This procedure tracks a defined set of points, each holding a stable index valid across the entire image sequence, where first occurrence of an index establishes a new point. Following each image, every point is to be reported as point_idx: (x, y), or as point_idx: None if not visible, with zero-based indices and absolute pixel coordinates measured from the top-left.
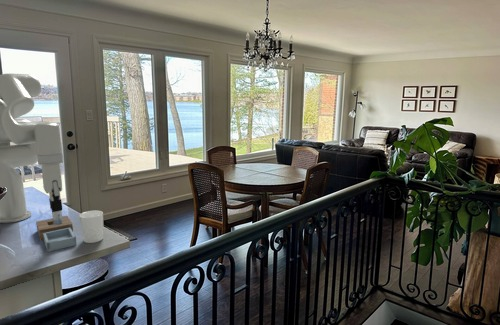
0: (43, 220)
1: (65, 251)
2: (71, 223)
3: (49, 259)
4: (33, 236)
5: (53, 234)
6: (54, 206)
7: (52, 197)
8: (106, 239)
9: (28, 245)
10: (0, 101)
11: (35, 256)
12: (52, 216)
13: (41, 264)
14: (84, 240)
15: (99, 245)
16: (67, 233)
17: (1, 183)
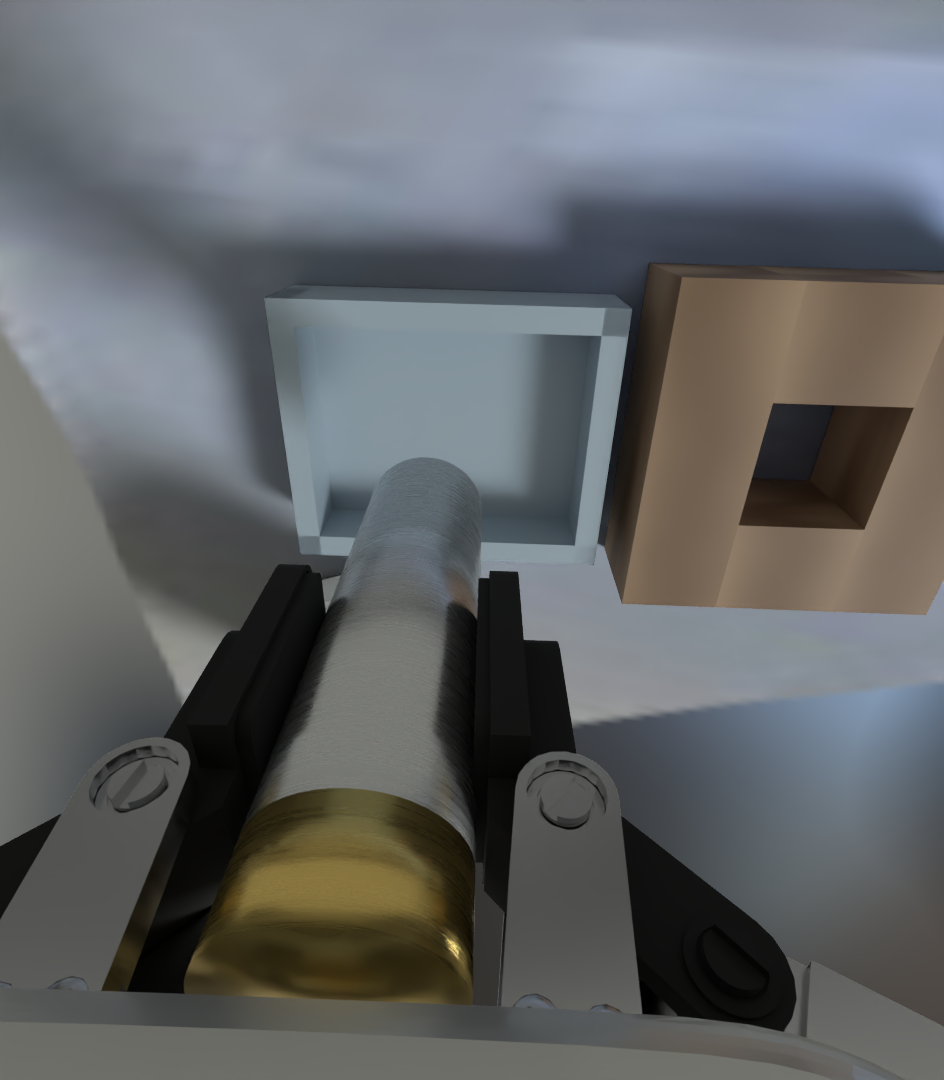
0: None
1: (224, 419)
2: (632, 598)
3: (101, 271)
4: (842, 208)
5: (588, 402)
6: (204, 669)
7: (47, 863)
8: None
9: (596, 118)
10: None
11: (232, 155)
12: (414, 510)
13: (9, 185)
14: (337, 581)
15: (225, 632)
16: (569, 511)
17: None
